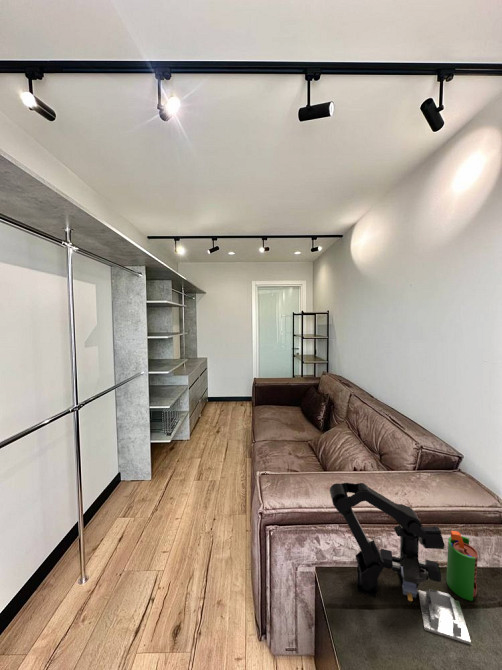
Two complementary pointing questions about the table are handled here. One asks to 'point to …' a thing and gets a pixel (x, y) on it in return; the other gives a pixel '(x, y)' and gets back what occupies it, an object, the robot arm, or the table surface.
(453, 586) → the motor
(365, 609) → the table surface
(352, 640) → the table surface
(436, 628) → the chassis
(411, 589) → the block
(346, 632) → the table surface
